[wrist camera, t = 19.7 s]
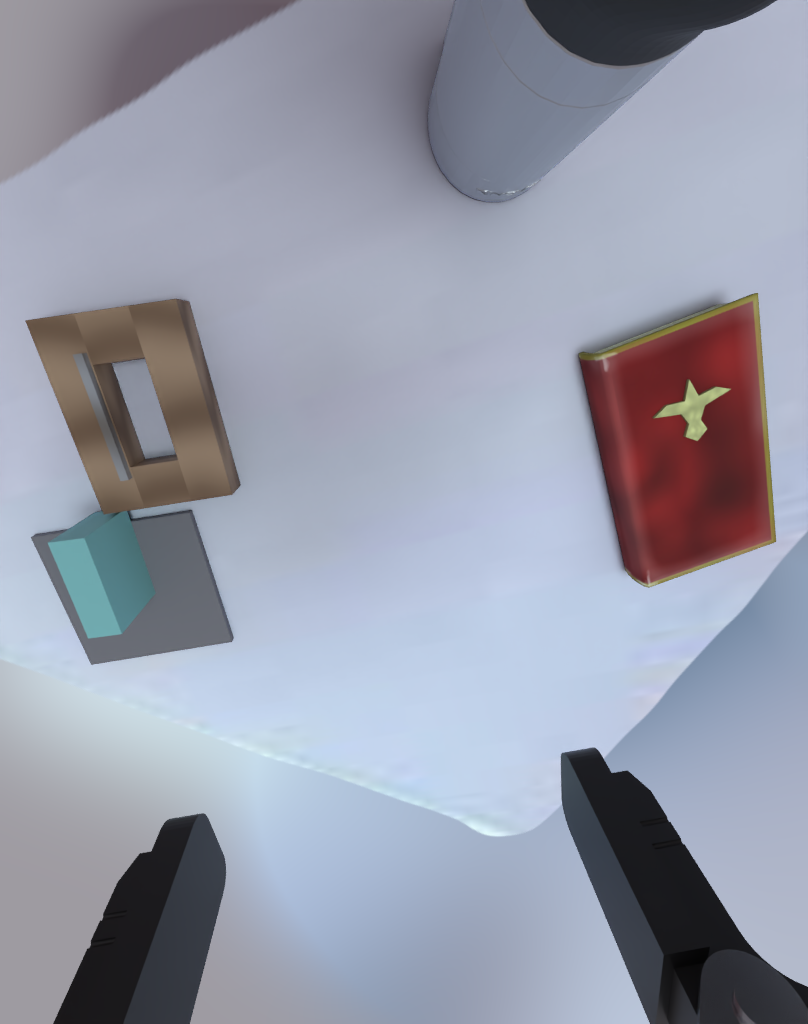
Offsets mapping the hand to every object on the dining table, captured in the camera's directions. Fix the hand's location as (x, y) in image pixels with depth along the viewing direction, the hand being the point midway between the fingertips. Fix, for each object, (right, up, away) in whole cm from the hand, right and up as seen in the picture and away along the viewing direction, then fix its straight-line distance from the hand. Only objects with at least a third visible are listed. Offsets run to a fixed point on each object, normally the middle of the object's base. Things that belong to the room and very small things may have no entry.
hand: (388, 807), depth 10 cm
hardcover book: (+23, +12, +30) cm, 40 cm away
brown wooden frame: (-19, +15, +25) cm, 35 cm away
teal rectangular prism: (-22, -2, +27) cm, 35 cm away
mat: (-23, 0, +30) cm, 38 cm away
